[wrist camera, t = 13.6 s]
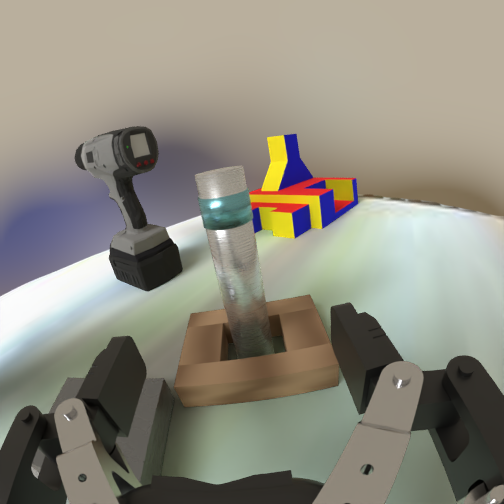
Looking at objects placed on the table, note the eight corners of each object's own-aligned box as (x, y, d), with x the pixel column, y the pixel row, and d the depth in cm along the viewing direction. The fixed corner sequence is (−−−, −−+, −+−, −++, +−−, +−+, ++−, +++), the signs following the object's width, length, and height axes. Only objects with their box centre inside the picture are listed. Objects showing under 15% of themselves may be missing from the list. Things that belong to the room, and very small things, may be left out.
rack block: (184, 407, 20) (173, 387, 19) (197, 333, 29) (190, 313, 28) (338, 385, 19) (339, 363, 18) (311, 314, 29) (310, 294, 28)
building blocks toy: (229, 231, 61) (213, 146, 54) (293, 201, 78) (284, 135, 71) (306, 241, 49) (292, 133, 42) (358, 204, 65) (350, 129, 58)
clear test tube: (237, 374, 23) (189, 178, 17) (237, 349, 26) (197, 173, 20) (278, 369, 22) (245, 168, 17) (274, 343, 26) (244, 164, 20)
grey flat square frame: (45, 477, 12) (26, 461, 11) (80, 395, 21) (67, 377, 20) (156, 505, 11) (137, 492, 10) (174, 398, 21) (163, 378, 20)
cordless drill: (123, 255, 58) (95, 142, 49) (196, 272, 43) (160, 107, 34) (94, 270, 52) (61, 152, 43) (157, 297, 38) (110, 114, 28)
